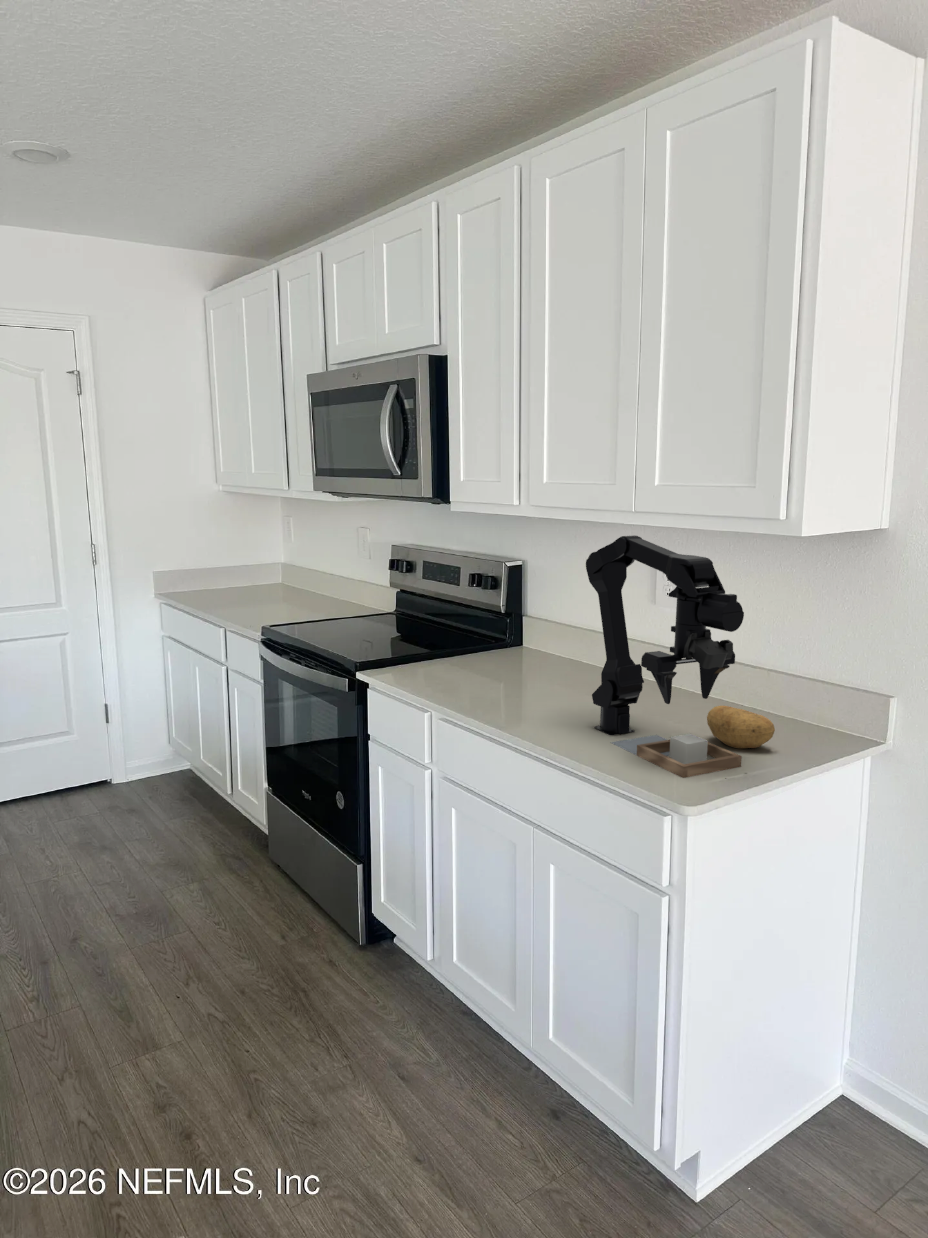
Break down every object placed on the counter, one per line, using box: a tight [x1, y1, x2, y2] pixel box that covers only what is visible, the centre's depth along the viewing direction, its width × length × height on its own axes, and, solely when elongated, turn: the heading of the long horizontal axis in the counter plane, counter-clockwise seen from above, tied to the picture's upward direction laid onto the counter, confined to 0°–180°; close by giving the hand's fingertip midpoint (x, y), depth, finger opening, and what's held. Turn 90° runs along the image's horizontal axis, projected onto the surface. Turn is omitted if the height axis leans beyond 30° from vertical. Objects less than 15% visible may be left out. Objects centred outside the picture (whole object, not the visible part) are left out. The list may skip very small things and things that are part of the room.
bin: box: [636, 739, 743, 779], centre depth 168 cm, size 14×14×2 cm
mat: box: [610, 734, 670, 760], centre depth 177 cm, size 12×12×1 cm
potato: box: [706, 705, 776, 749], centre depth 177 cm, size 10×14×8 cm
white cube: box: [668, 732, 709, 764], centre depth 168 cm, size 5×5×5 cm
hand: (686, 701), depth 169 cm, fingers open, 9 cm apart
